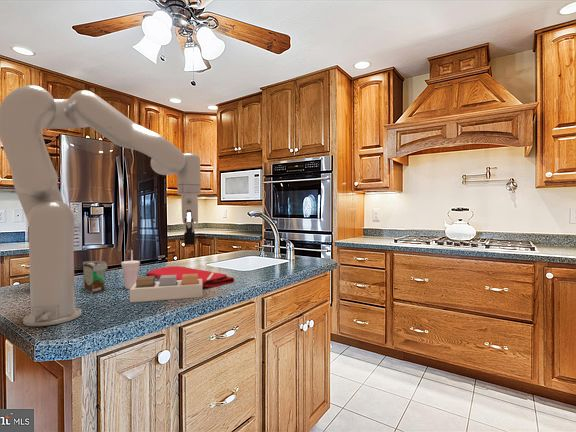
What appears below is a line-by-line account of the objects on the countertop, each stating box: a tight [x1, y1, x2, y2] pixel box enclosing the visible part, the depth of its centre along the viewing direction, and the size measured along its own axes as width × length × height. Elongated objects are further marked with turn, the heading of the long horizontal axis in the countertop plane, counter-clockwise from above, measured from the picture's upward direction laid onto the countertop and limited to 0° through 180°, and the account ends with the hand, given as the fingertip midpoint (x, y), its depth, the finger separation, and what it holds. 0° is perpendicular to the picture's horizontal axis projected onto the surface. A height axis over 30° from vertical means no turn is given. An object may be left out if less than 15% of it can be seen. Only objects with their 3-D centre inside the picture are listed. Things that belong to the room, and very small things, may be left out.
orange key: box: [182, 273, 198, 285], centre depth 111 cm, size 5×5×3 cm
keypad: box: [129, 279, 203, 303], centre depth 109 cm, size 10×22×4 cm, turn 105°
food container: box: [82, 260, 108, 295], centre depth 117 cm, size 12×6×10 cm, turn 47°
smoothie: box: [120, 249, 141, 290], centre depth 120 cm, size 6×6×14 cm
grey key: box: [159, 275, 177, 286], centre depth 109 cm, size 5×5×3 cm
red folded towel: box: [145, 265, 235, 288], centre depth 136 cm, size 16×41×4 cm, turn 51°
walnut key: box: [136, 275, 156, 288], centre depth 107 cm, size 5×5×3 cm
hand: (189, 243), depth 110 cm, fingers open, 5 cm apart
